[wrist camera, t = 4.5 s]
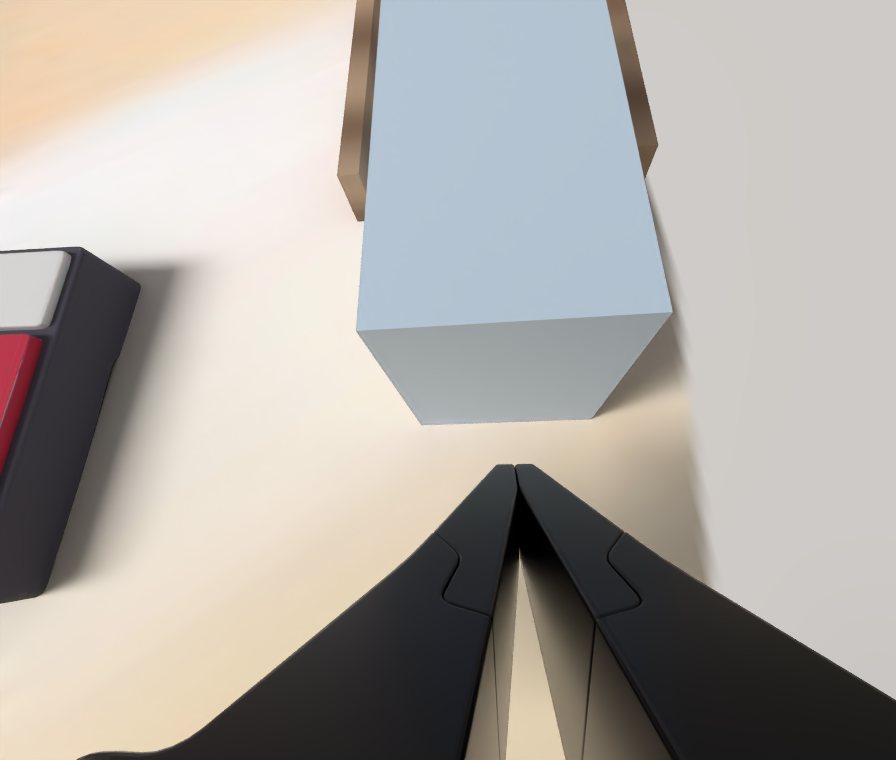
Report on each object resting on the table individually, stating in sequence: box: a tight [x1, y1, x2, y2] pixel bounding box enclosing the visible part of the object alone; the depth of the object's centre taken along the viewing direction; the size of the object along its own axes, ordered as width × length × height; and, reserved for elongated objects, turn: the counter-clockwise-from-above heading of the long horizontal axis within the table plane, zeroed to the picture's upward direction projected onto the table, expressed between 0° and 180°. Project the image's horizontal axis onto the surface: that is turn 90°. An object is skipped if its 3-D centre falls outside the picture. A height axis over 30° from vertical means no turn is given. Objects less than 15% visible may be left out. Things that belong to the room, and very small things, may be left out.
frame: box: [337, 0, 658, 221], centre depth 23 cm, size 18×14×3 cm
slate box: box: [356, 0, 673, 425], centre depth 17 cm, size 16×7×9 cm, turn 0°
